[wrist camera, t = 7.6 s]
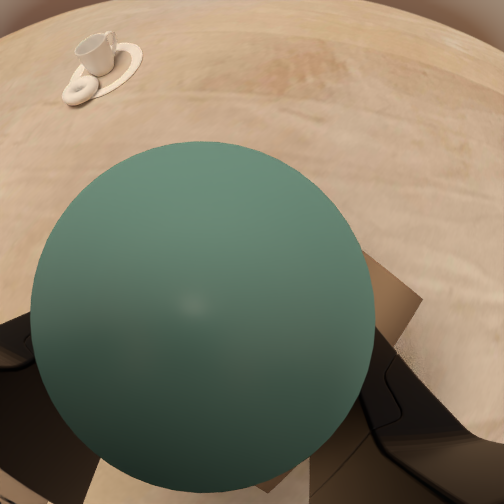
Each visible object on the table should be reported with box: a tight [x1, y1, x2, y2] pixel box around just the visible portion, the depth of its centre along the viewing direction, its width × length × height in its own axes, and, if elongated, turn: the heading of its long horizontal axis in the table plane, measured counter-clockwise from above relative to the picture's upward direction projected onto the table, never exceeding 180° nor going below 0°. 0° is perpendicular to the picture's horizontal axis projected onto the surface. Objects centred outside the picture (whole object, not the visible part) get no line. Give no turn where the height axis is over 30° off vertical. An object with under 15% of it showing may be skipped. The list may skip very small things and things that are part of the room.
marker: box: [30, 142, 375, 493], centre depth 9 cm, size 4×4×12 cm
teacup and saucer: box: [62, 31, 143, 105], centre depth 22 cm, size 9×8×4 cm
